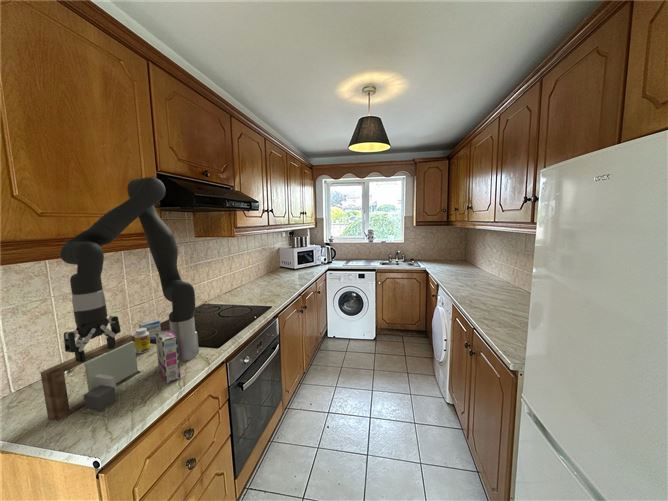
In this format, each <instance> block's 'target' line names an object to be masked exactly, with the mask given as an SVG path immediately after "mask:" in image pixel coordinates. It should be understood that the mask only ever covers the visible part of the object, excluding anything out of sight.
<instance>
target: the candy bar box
mask: <svg viewBox="0 0 668 501" xmlns="http://www.w3.org/2000/svg"><path fill="white" fill-rule="evenodd" d="M155 334H156V339H155V341H156V344H155V345H156V353H157V366H158V373H159V374H160V376H161V377H162V379H163V381H164V382H165V384H170V383H172V382H175V381H177V380H179V379H181V374H180V372H181V371H180V362H179V359H178V346H177V337H176V336H175V335H174V334H173V333H172V332H171V331H170V328H169V329H163V330H161V331H159V332H156V333H155Z"/></svg>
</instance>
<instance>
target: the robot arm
mask: <svg viewBox="0 0 668 501" xmlns="http://www.w3.org/2000/svg"><path fill="white" fill-rule="evenodd" d="M126 188H127V194H128V197H129V198H128V199H127V200H126V201H124V202H123V203H120V204H118V206H116V207H114V208H112V209H111V210H108V212H106V213H104V214H103V215H102V216H101V217H100V218H99V219H97V220H95V222H94V223H93V224H92V225H91V226H89V228H87V229H86V230H84V231H82V232H80V233H79V234H77V235H75V236H74V237H72V238H71V239H70V240H68V241H67V242H65V243H64V244H63V246H62V247H61V249H60V252H59V256H60V259H61V260H62V261H63V262H64V263H66V264H69V265H75V266H76V265H77V266H76V267H77V268H76V273H74V274H72V275H71V276H70V279H69V280H70V282H69V283H70V289H71V290H70V291H71V296H72V297H71V304H72V309H73V310H72V311H73V316H74V322H75V324H76V325H75V326H76V328H75V330H71V331H64V333H63V343H64V352H65V353H74V358H76V361H77V362H79V363H82V364H84V363H83V362H85V361H86V359H85V353H86V352H85V350H84V349H85V347H86V345H87V344H88V343H89V342H90V341H91V340H93V339H95V338H97V337H102V335H104V336H105V337H106V338H105V339H106V344H107V347H108V349H113V348H115V345H116V342H115V340H116V336H117V335H118V334H120V333H121V332H122V331H121V326H120V321H119V316H115V315H110V316H108V310H107V302H106V297H105V293H104V289H103V288H104V287H103V282H102V272H103V267H104V261H105V256H104V251H103V249H102V246H105V245H108V244H111V243H113V242H114V241H115V240H116V239H117V238H118V237H119V236H120V234H122V233H123V231H125V230H126V229H127V228H128V227H129V225H131V224H132V223H133V222H134V221H135V220H136V219H138V220H139V222H140V225H141V227H142V230H143V233H144V235H145V238H146V242H147V245H148V248H149V250H150V253H151V256H152V258H153V261H154V265H155V267H156V270H157V272H158V276H159V279H160V284H161V289H162V290H161V291H162V293H163V297H164V299H165V300H167V301H169V302H170V303H171V308H172V309H171V312H169V314H168V323H169V330H170V331H171V332H172V333H173V334H174V335H175V336H176V337H177V346H178V359H179V363H182V362H187V361H191V360H192V359H194V358H195V357H196V356H198V354H199V352H200V350H199V338H198V336H199V335H198V332H197V331H196V325H195V324H196V322H195V312H196V295H195V294H196V292H195V289H194V286H193V285H192V284H191V283H190V282H187V281H183V280H182V278H181V276H180V272H179V269H178V256H179V255H178V254H179V250H178V246H177V243H176V239H175V236H174V234H173V231H172V230H171V228H170V227H169V226H168V225H167V223H165V222H164V221H163V220H162V219H161V217H160V216H159V214H158V213H157V210H156V207H155V205H156V204H157V203H159V202H160V201H161V200H163V199H164V197H165V196H166V187H165V185H164V183H163V181H162V180H160V179H159V178H157V177H151V176H149V177H142V178H135V179H131V180H130V181H129V182H128V184H127V187H126ZM108 325H110V329H109V328H108ZM77 335H78V336H77ZM85 363H86V362H85Z"/></svg>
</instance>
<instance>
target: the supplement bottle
mask: <svg viewBox="0 0 668 501" xmlns="http://www.w3.org/2000/svg"><path fill="white" fill-rule="evenodd" d="M133 339H134V340H133V341H134V343H135V351H136V354H144V353H147V352H149V351H151V349H152V348H151V341H150V337H149V332H147V329H146V328H140V329H139V328H137V329H136V330H135V334H134V335H133Z"/></svg>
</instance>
